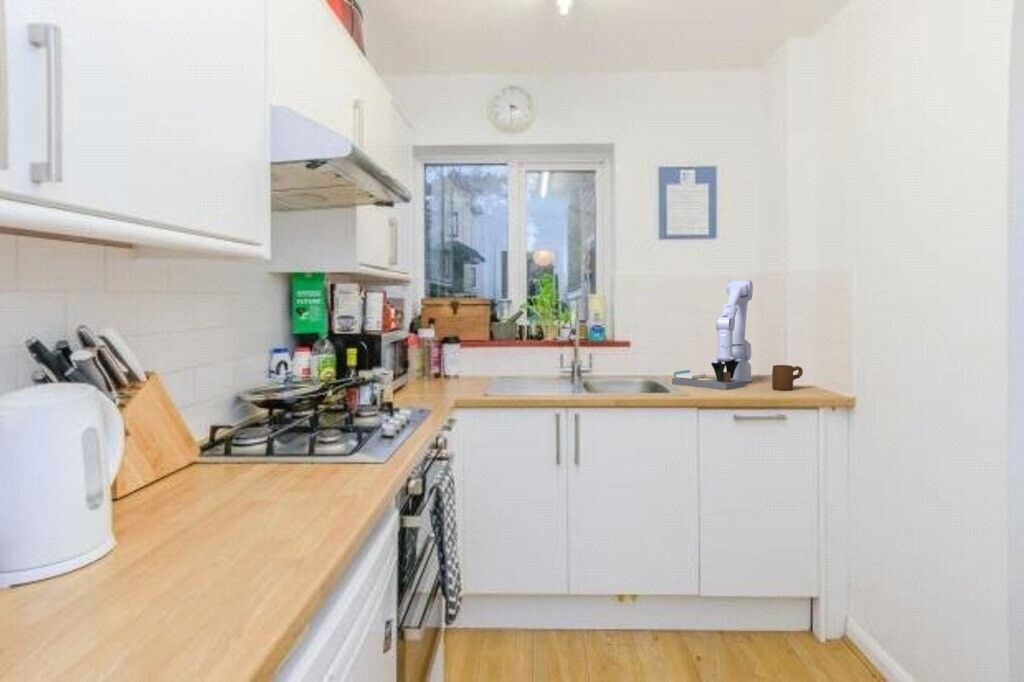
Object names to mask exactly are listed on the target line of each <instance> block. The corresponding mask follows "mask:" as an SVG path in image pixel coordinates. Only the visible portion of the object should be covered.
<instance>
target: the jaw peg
mask: <svg viewBox="0 0 1024 682" xmlns="http://www.w3.org/2000/svg"><path fill="white" fill-rule="evenodd" d="M730 375H731V373H730V372H727V371H724V372H723V380H720V382H730Z"/></svg>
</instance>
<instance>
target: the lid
mask: <svg viewBox="0 0 1024 682" xmlns="http://www.w3.org/2000/svg"><path fill="white" fill-rule="evenodd" d="M706 375H707V374H706V373H699V372H692V371H691V370H690V369H685V370H684V369H683V370H678V371H673V378H677V377H679V378H689V379H694V378H700V377H707V376H706Z"/></svg>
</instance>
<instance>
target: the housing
mask: <svg viewBox="0 0 1024 682" xmlns="http://www.w3.org/2000/svg"><path fill="white" fill-rule="evenodd" d="M671 384H672V385H678V386H688V387H695V388H697V387H698V388H705V389H711V390H712V389H713V390H714V389H715V390H721V391H722V390H723V391H728V390H735V389H738V388H744V387H746V382H745V380H735V379H730V382H720V380H717V378H716V376H715V377H713V376H706V377H700V378H694V379H689V378H679V377H672V378H671Z"/></svg>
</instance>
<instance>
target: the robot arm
mask: <svg viewBox="0 0 1024 682" xmlns="http://www.w3.org/2000/svg"><path fill="white" fill-rule="evenodd" d="M725 286H726V293H727V295H728V297H727V298H728V299H727V303H725V304H723V306H722V309H721V313H720V316H719V317H717V318H716V320H715V329H716V335H717V356H716V357H713V358H712V362H711V367H712V369H713V370H714V374H715V378H717V380H723V372H725V371H724V370H725V369H726V372H730V373H731V375H730V379H735V380H745V383H748V382H753V381H754V380H753V379H752V365H751V363H750V362H749V361H750V360H751V359H752V345H751V343H750V341H748V340H747V339H745V338H746V337H745V336H746V326H747V325H746V323H747V311H748V310H747V309H748V303H749V301H751V300H752V299H753V298H752V297H753V293H754V292H753V291H754V286H753V281H752V279H750V278H749V279H736V280H735V279H734V280H733V279H732V280H731V279H729V280H728V281H726V285H725Z"/></svg>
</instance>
